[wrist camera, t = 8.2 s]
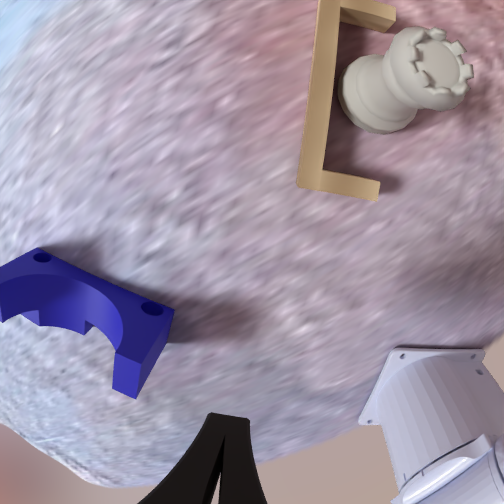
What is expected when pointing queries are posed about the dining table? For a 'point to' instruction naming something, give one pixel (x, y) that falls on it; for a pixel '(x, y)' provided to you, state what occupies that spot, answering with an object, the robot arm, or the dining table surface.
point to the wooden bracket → (320, 95)
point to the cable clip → (87, 311)
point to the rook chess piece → (404, 80)
